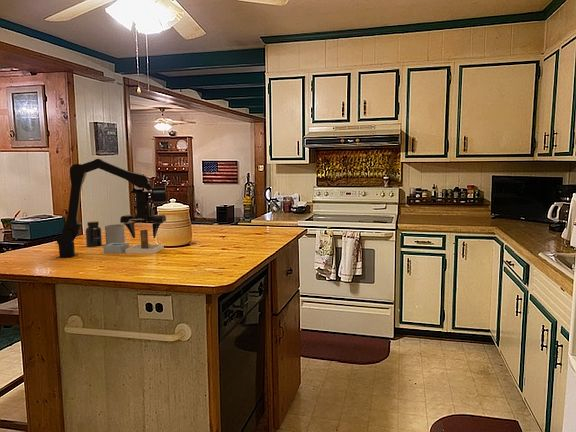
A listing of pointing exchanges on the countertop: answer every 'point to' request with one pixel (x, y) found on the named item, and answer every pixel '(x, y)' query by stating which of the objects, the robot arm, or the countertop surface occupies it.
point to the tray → (151, 249)
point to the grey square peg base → (115, 247)
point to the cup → (114, 234)
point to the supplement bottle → (93, 234)
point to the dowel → (144, 239)
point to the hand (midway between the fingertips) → (144, 238)
